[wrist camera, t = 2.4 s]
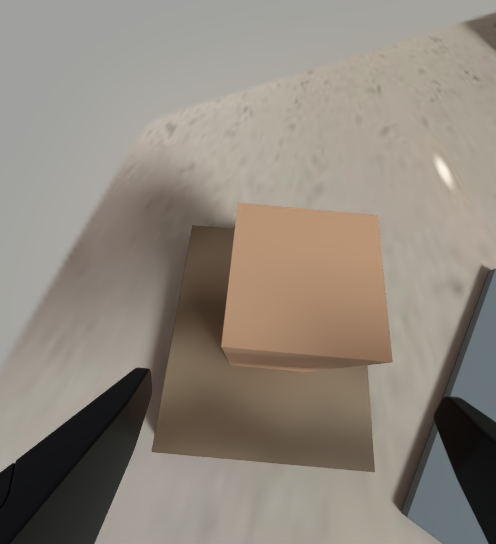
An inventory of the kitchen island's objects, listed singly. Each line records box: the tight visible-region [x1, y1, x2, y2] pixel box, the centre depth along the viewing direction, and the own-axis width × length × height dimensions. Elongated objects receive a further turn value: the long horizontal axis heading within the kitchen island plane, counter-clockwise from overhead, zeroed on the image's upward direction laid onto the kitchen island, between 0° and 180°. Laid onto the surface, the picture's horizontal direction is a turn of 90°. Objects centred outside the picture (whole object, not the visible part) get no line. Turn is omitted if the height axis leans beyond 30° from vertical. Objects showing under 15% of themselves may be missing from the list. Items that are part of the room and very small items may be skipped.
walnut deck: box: [152, 225, 375, 472], centre depth 18 cm, size 14×12×2 cm
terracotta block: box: [221, 203, 392, 372], centre depth 13 cm, size 4×4×10 cm
